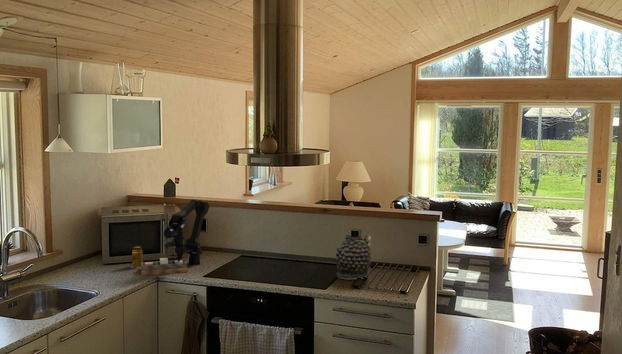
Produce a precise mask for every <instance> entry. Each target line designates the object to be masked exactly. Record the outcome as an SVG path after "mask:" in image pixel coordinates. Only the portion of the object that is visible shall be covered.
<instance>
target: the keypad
mask: <svg viewBox="0 0 622 354" xmlns="http://www.w3.org/2000/svg"><path fill="white" fill-rule="evenodd" d="M181 260H182V261H183V263H178V264H175V261H176V260H168V264H162V265H160V261H152V262H153V265H147V266H145V262H143V263H141V268H140V274H141V276H150V275H152V276H153V275H162V274H163V275H166V274H177V273H178V274H179V273H180V272H181V273H188V272H189V270H188V269H189V268H188V262H187V260H186V259H181Z"/></svg>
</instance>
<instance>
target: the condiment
mask: <svg viewBox="0 0 622 354" xmlns="http://www.w3.org/2000/svg"><path fill="white" fill-rule="evenodd" d="M143 256H144V255H143V248H142V246H139V245H138V246H133V247H132V253H131V261H132V262H131V264H132V265H131V266H130V268H132V269H141V263H144V260H143V259H144V257H143Z"/></svg>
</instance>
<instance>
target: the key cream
mask: <svg viewBox="0 0 622 354" xmlns="http://www.w3.org/2000/svg"><path fill="white" fill-rule="evenodd" d="M168 261H169V259H168V257H160V258H159V262H160V265H162V264H168Z"/></svg>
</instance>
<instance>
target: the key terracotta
mask: <svg viewBox="0 0 622 354" xmlns="http://www.w3.org/2000/svg"><path fill="white" fill-rule="evenodd" d="M153 262H154V261H148V262H147V261H146V262H144V263H145V266H147V265H153Z"/></svg>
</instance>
